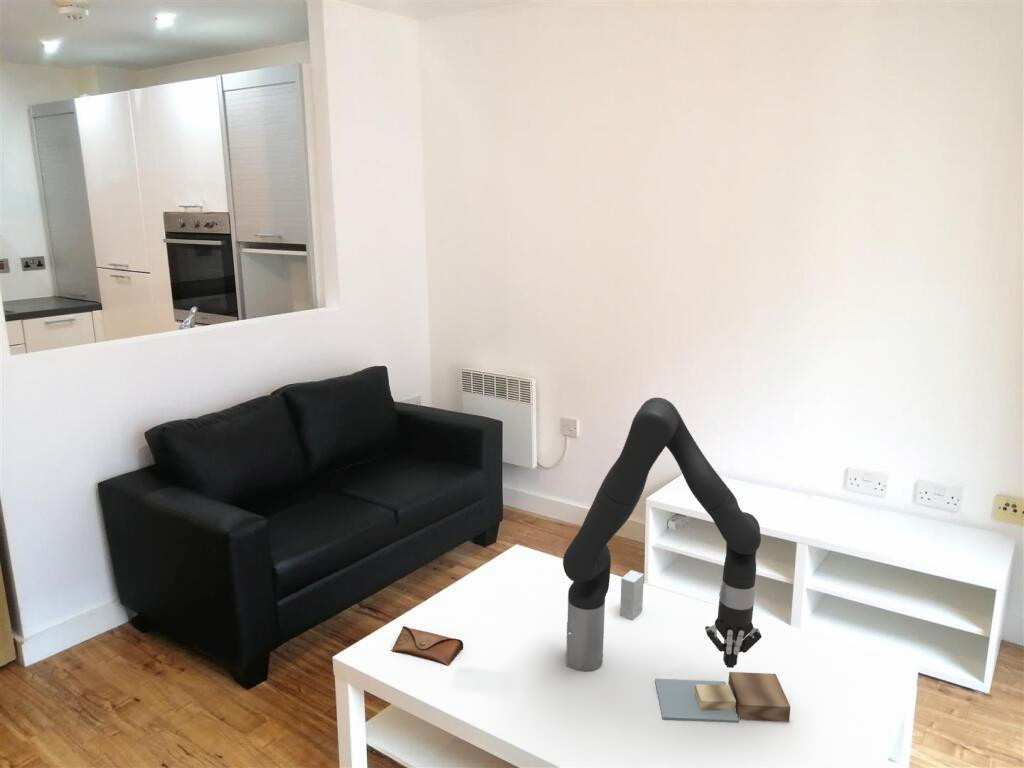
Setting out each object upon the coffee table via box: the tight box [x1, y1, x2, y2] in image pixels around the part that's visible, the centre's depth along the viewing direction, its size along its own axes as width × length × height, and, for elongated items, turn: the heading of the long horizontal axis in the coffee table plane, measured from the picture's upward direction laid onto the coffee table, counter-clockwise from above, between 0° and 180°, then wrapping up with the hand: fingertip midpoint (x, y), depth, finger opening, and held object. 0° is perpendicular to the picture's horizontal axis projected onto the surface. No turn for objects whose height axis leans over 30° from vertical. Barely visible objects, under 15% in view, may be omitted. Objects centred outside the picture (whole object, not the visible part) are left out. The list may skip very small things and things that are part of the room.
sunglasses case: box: [390, 625, 464, 667], centre depth 196 cm, size 18×7×7 cm
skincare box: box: [619, 569, 645, 621], centre depth 212 cm, size 6×4×12 cm
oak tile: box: [695, 684, 736, 711], centre depth 175 cm, size 8×6×2 cm
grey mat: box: [654, 678, 740, 724], centre depth 177 cm, size 17×14×1 cm
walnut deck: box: [727, 671, 792, 723], centre depth 175 cm, size 11×12×4 cm
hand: (729, 665), depth 174 cm, fingers closed
